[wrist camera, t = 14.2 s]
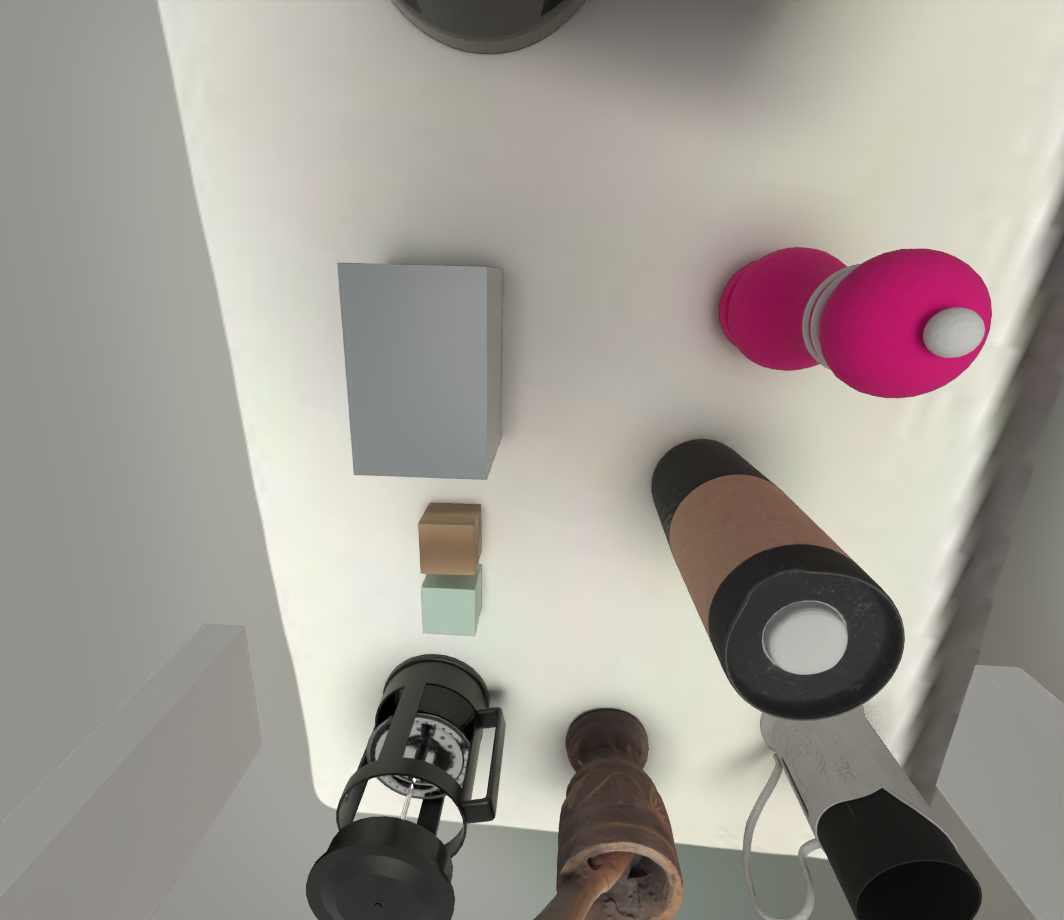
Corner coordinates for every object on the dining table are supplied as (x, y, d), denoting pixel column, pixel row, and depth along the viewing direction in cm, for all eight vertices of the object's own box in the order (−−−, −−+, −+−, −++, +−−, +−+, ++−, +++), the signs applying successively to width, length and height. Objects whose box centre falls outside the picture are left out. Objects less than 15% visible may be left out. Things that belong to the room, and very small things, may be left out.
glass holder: (880, 735, 49) (1013, 923, 35) (731, 797, 52) (798, 995, 37) (838, 662, 47) (962, 831, 32) (686, 732, 50) (739, 915, 35)
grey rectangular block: (386, 266, 38) (337, 262, 30) (502, 269, 38) (486, 266, 30) (395, 434, 42) (353, 474, 34) (500, 438, 42) (486, 479, 33)
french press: (392, 747, 51) (271, 1094, 30) (364, 662, 49) (207, 975, 27) (517, 732, 50) (488, 1081, 28) (496, 644, 48) (445, 956, 26)
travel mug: (730, 539, 44) (865, 740, 25) (635, 518, 43) (696, 704, 24) (764, 447, 41) (941, 591, 22) (663, 424, 41) (756, 551, 22)
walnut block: (430, 502, 44) (418, 523, 40) (481, 504, 44) (474, 525, 40) (432, 548, 45) (420, 573, 41) (481, 550, 45) (474, 575, 41)
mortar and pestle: (533, 785, 52) (519, 1075, 33) (514, 711, 50) (489, 979, 31) (657, 771, 51) (717, 1063, 32) (645, 694, 48) (702, 962, 30)
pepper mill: (786, 375, 40) (997, 464, 21) (692, 337, 39) (822, 394, 20) (839, 274, 37) (1131, 270, 18) (741, 233, 37) (938, 186, 18)
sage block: (432, 561, 45) (421, 587, 42) (481, 563, 45) (474, 590, 42) (433, 604, 47) (422, 633, 43) (481, 606, 47) (474, 636, 43)
